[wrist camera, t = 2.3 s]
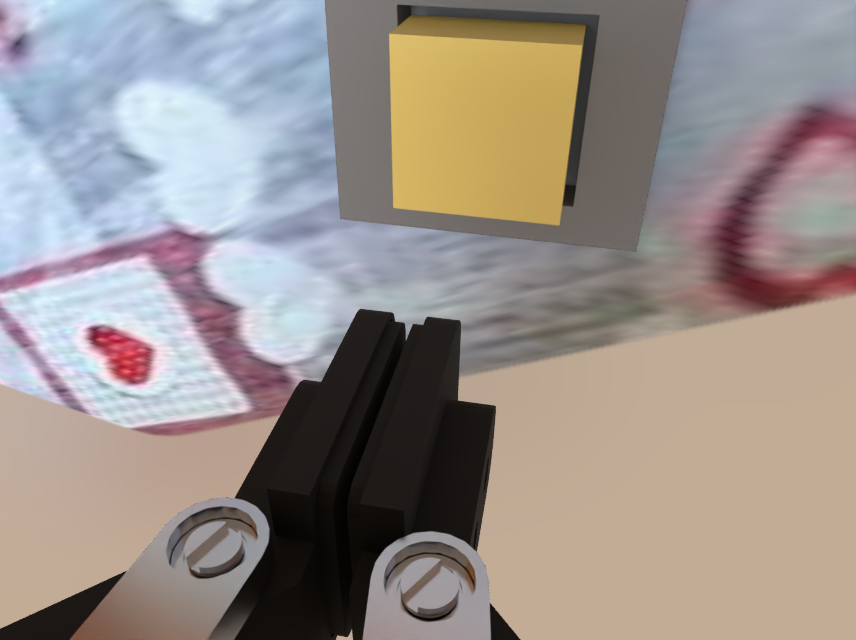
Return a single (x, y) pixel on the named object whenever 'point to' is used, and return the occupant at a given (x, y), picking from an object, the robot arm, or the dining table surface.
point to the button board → (592, 129)
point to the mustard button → (483, 115)
